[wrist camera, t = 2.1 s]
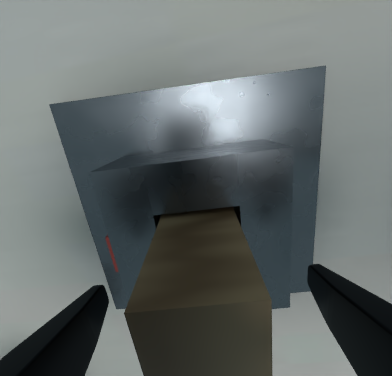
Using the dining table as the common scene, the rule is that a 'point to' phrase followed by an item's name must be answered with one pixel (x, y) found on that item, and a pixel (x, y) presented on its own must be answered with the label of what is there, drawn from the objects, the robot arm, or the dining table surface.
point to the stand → (201, 169)
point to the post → (201, 300)
